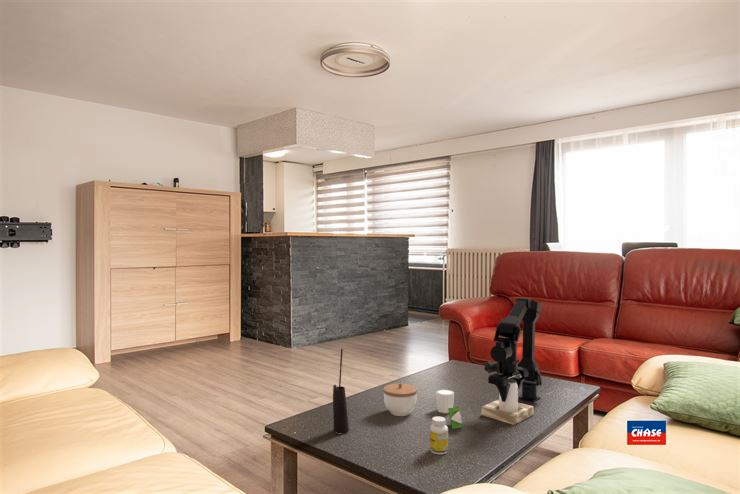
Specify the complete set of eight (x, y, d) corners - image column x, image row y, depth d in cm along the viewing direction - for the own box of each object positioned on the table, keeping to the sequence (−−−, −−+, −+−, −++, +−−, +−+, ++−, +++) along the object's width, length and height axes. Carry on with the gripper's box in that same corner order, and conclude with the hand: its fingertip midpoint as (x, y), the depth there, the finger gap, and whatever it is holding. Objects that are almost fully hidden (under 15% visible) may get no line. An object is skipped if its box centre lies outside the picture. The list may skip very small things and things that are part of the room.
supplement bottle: (428, 447, 141) (428, 415, 141) (445, 446, 142) (445, 415, 142) (432, 455, 136) (432, 422, 136) (450, 454, 136) (450, 421, 136)
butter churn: (321, 427, 157) (321, 345, 157) (347, 423, 161) (347, 343, 161) (329, 437, 148) (329, 351, 149) (356, 433, 152) (356, 348, 152)
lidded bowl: (424, 412, 171) (424, 382, 171) (402, 421, 162) (402, 390, 162) (398, 404, 180) (397, 376, 180) (376, 413, 171) (376, 383, 171)
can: (498, 415, 165) (498, 382, 165) (500, 409, 171) (500, 377, 171) (517, 418, 163) (517, 384, 163) (518, 411, 169) (518, 379, 169)
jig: (501, 405, 178) (501, 398, 178) (533, 414, 169) (533, 406, 169) (481, 414, 168) (481, 406, 168) (513, 424, 159) (513, 416, 159)
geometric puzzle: (438, 416, 161) (446, 403, 157) (455, 414, 164) (462, 400, 159) (447, 435, 156) (455, 421, 151) (464, 431, 158) (472, 418, 154)
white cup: (454, 414, 169) (454, 395, 169) (435, 413, 170) (435, 394, 170) (454, 408, 176) (454, 389, 176) (436, 406, 177) (436, 388, 177)
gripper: (502, 348, 179) (502, 388, 179) (475, 357, 167) (475, 400, 167) (529, 353, 171) (529, 395, 171) (502, 362, 158) (502, 407, 159)
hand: (508, 399), depth 167 cm, fingers closed on can, 6 cm apart
